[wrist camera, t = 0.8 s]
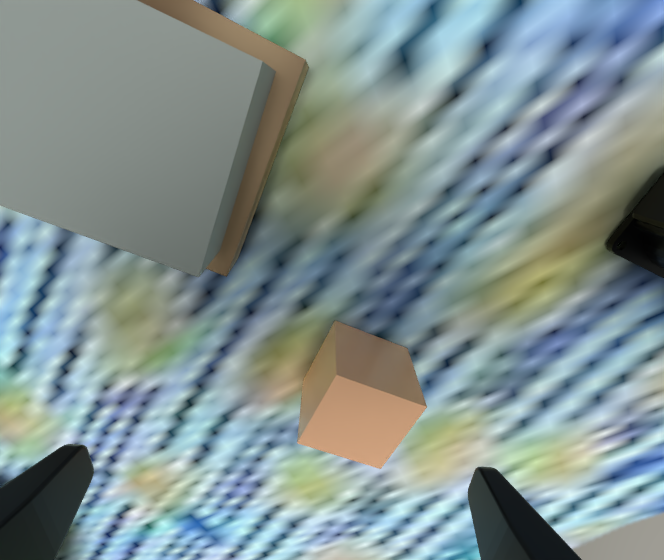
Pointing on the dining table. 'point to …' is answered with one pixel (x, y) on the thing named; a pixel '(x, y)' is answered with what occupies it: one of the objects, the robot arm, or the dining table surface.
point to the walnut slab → (273, 122)
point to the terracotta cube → (359, 397)
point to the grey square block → (125, 125)
